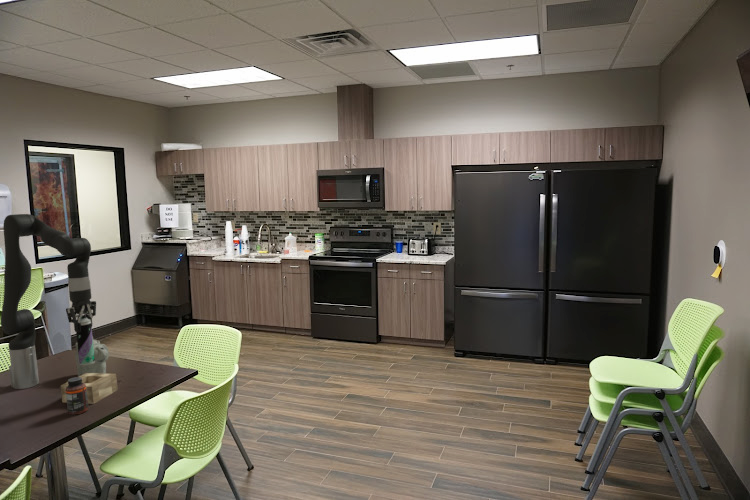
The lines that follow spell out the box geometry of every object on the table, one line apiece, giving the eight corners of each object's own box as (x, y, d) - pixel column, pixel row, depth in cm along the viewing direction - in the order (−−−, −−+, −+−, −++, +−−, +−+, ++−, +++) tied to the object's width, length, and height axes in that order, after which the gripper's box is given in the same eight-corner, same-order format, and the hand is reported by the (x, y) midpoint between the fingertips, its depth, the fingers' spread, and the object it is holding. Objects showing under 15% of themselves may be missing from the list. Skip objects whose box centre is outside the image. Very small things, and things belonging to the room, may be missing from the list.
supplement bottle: (84, 406, 197) (81, 374, 195) (91, 410, 193) (88, 378, 191) (65, 412, 192) (61, 379, 190) (72, 417, 187) (68, 383, 186)
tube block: (62, 402, 201) (60, 385, 200) (87, 388, 215) (86, 372, 214) (93, 403, 199) (92, 386, 198) (117, 390, 213) (116, 373, 212)
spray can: (79, 366, 202) (74, 317, 199) (79, 362, 207) (75, 314, 204) (94, 364, 204) (90, 315, 202) (95, 360, 209) (90, 312, 207)
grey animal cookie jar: (106, 380, 224) (102, 339, 222) (69, 384, 221) (64, 342, 219) (116, 368, 240) (113, 329, 238) (81, 371, 237) (77, 332, 234)
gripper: (84, 285, 209) (88, 324, 211) (57, 291, 195) (61, 334, 197) (100, 285, 208) (104, 325, 210) (74, 292, 194) (78, 335, 196)
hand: (83, 329), depth 204 cm, fingers closed on spray can, 5 cm apart
